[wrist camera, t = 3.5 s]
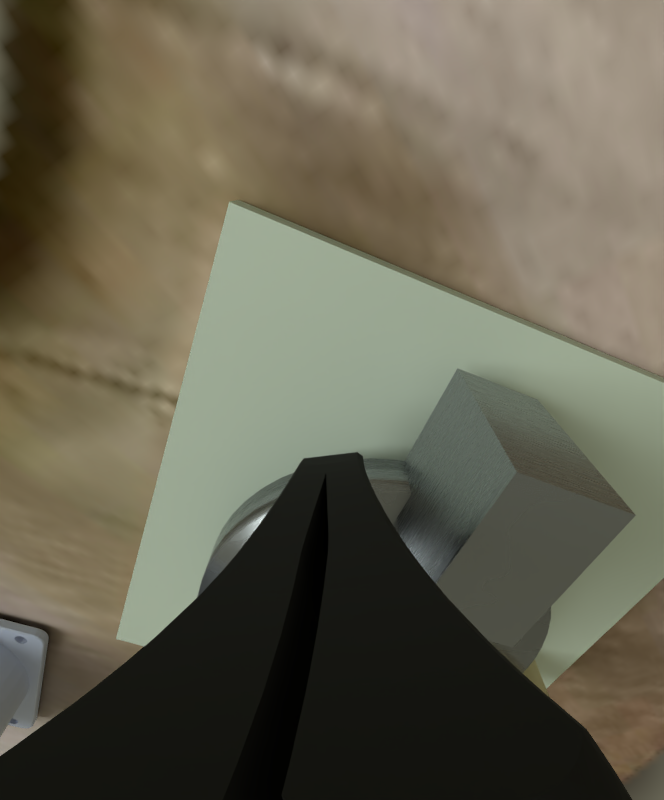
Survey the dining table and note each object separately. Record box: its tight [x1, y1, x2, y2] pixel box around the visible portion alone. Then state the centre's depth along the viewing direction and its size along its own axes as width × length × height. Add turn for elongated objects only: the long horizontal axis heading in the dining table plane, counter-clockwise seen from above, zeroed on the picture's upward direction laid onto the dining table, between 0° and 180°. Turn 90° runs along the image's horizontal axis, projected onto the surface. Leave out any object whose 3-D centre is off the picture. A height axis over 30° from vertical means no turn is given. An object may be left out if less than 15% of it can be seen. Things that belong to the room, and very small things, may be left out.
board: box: [116, 200, 664, 698], centre depth 14 cm, size 18×18×6 cm
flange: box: [197, 368, 636, 673], centre depth 13 cm, size 14×11×4 cm
